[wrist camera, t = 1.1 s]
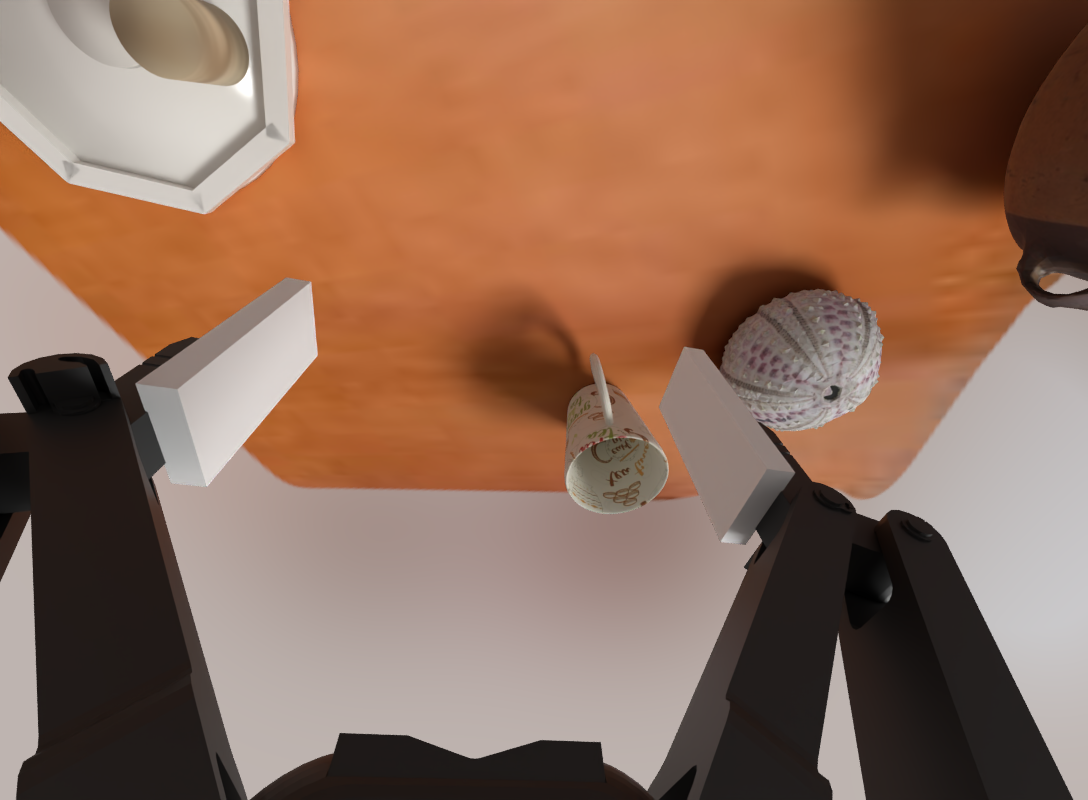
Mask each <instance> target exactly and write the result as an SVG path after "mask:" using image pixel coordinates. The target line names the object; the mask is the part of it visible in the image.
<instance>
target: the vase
mask: <svg viewBox="0 0 1088 800" xmlns="http://www.w3.org/2000/svg"><path fill="white" fill-rule="evenodd" d="M1004 207H1005V214H1006V219H1007V222H1008V226H1009V229H1010V232H1011V234H1012V236H1013V238H1014V240H1015V241H1016V243H1017V244H1018V246H1019V247H1020V248H1021V249H1022V250H1023V255H1022V258H1021V260H1020V261H1019V263H1018V266H1017V268H1016V269H1017V271H1018V273H1019V276H1020V279H1021V283H1022V285H1023V286H1024V287H1025V288H1026V290H1027V291H1028V292H1029V293H1030V294H1031V295H1032V296H1033V297H1034V298H1035V299H1036V300H1037V301H1038V302H1040V303H1042V304H1044V305H1046V306H1049V307H1053V308H1054V307H1066V308H1074V309H1082V310H1086V311H1087V310H1088V288H1087V289H1085V290H1082V291H1079V292H1075V293H1071V294H1053V293H1050V292H1047V291H1044V290H1043V289H1042V288H1041V287H1040V286H1039V282H1040V279H1041V278H1042V277H1044V276H1047V275H1049V274H1051V273H1064V274H1067V275H1070V276H1073V277H1076V278H1079V279H1083V280H1086V281H1088V23H1087V25H1086V26H1085V27H1084V28H1083V29H1082V30H1081V31H1080V32H1079V33H1078V35H1077V36H1076V37H1075V39H1074V40H1073V41H1072V43H1071V44H1070V45H1069V47H1068V48H1067V49H1066V51H1065V52H1064V53H1063V55H1062V56H1061V57H1060V58H1059V60H1058V61H1057V63H1056V64H1055V66H1054V67H1053V69H1052V70H1051V72H1050V73H1049V75H1048V76H1047V78H1046V79H1045V81H1044V82H1043V84H1042V85H1041V87H1040V88H1039V90H1038V92H1037V94H1036V95H1035V97H1034V99H1033V101H1032V102H1031V104H1030V106H1029V108H1028V110H1027V112H1026V114H1025V116H1024V118H1023V120H1022V122H1021V125H1020V127H1019V130H1018V133H1017V136H1016V139H1015V142H1014V144H1013V148H1012V151H1011V154H1010V157H1009V161H1008V165H1007V170H1006V175H1005V184H1004Z"/></svg>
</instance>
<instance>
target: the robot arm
mask: <svg viewBox="0 0 1088 800" xmlns="http://www.w3.org/2000/svg"><path fill="white" fill-rule="evenodd" d="M317 356H318V354H317V343H316V332H315V320H314V309H313V298H312V287H311V282H309V281H303V280H297V279H292V278H285V279H283V280H282V281H281V282H279V283H278V284H276V285H275V286H274V287H272V288H271V289H269V290H268V291H266V292H265V293H264V294H262V295H261V296H259V297H258V298H256V299H255V300H254V301H252V302H251V303H249V304H248V305H246V306H245V307H244V308H242V309H241V310H239V311H238V312H237V313H235V314H234V315H232V316H231V317H229V318H228V319H227V320H225V321H224V322H222V323H221V324H219V325H218V326H217V327H215V328H214V329H212V330H211V331H209V332H208V333H207V334H205V335H204V336H202V337H201V338H194V337H190V338H187V339H184V340H181V341H179V342H176V343H173V344H170V345H168V346H167V347H165V348H164V349H162V350H161V351H159V352H158V353H156V354H155V357H153V356H152V357H150V358H149V359H147V360H146V361H144V362H143V364H142V365H138V366H136V367H135V368H134V369H132V370H130V371H129V372H127V373H126V374H124V375H123V376H121V377H120V378H118V379H117V380H116V381H114V379H113V376H112V373H111V371H110V368H109V366H108V364H107V362H106V361H105V360H104V359H103V358H101V357H98V356H95V355H91V354H79V353H73V354H57V355H52V356H47V357H42V358H38V359H35V360H32V361H29V362H26V363H23V364H22V365H20V366H18V367H17V368H15V369H13V370H12V371H11V373H10V375H9V376H8V379H9V381H10V383H11V385H12V386H13V388H14V390H15V392H16V394H17V396H18V397H19V399H20V401H21V403H22V405H23V407H24V408H25V410H26V412H25V413H5V414H4V413H3V414H0V581H1V579H2V577H3V575H4V572H5V570H6V568H7V566H8V563H9V561H10V559H11V557H12V555H13V552H14V550H15V548H16V546H17V543H18V541H19V539H20V537H21V534H22V532H23V530H24V528H25V526H26V523H27V521H28V519H29V517H30V515H31V525H32V526H31V527H32V528H31V529H32V558H33V586H34V613H35V614H34V616H35V645H36V674H37V703H38V733H39V739H38V748H37V751H36V754H35V755H34V756H32V757H30V758H29V759H27V760H26V761H24V762H23V764H22V767H21V769H20V772H19V775H18V782H17V794H16V800H247V796H246V793H245V790H244V787H243V784H242V781H241V778H240V775H239V772H238V769H237V767H236V764H235V761H234V758H233V755H232V752H231V749H230V745H229V742H228V738H227V735H226V732H225V728H224V724H223V721H222V718H221V714H220V710H219V707H218V704H217V700H216V697H215V693H214V689H213V686H212V682H211V679H210V676H209V672H208V668H207V665H206V662H205V658H204V654H203V651H202V648H201V644H200V640H199V637H198V633H197V630H196V626H195V623H194V620H193V616H192V613H191V609H190V606H189V602H188V598H187V595H186V591H185V588H184V585H183V581H182V577H181V574H180V571H179V567H178V563H177V560H176V556H175V553H174V549H173V546H172V542H171V539H170V535H169V532H168V528H167V525H166V521H165V518H164V514H163V511H162V507H161V504H160V500H159V497H158V493H157V490H156V487H155V484H154V481H153V479H152V476H153V475H154V474H155V473H156V472H157V471H158V470H159V469H160V468H161V467H162V466H163V465H165V468H166V470H167V473H168V476H169V479H170V482H171V483H175V484H185V485H194V486H203V487H207V486H208V485H209V484H210V483H211V481H212V480H213V479H214V478H215V477H216V475H217V474H218V473H219V472H220V471H221V469H222V468H223V467H224V466H225V465H226V463H227V462H228V461H229V460H230V459H231V458H232V456H233V455H234V454H235V453H236V452H237V450H238V449H239V448H240V447H241V446H242V445H243V443H244V442H245V441H246V440H247V439H248V437H249V436H250V435H251V434H252V433H253V431H254V430H255V429H256V428H257V427H258V426H259V424H260V423H261V422H262V421H263V420H264V418H265V417H266V416H267V415H268V414H269V413H270V411H271V410H272V409H273V408H274V407H275V405H276V404H277V403H278V402H279V401H280V399H281V398H282V397H283V396H284V395H285V394H286V392H287V391H288V390H289V389H290V388H291V386H292V385H293V384H294V383H295V382H296V380H297V379H298V378H299V377H300V376H301V375H302V373H303V372H304V371H305V370H306V369H307V367H308V366H309V365H310V364H311V363H312V361H313V360H314V359H315V358H316V357H317ZM659 408H660V411H661V413H662V415H663V417H664V419H665V421H666V424H667V426H668V428H669V430H670V432H671V435H672V437H673V439H674V441H675V443H676V446H677V448H678V450H679V452H680V454H681V457H682V459H683V461H684V463H685V465H686V468H687V470H688V472H689V474H690V476H691V479H692V481H693V483H694V485H695V487H696V489H697V492H698V494H699V496H700V498H701V500H702V503H703V505H704V507H705V509H706V511H707V514H708V516H709V518H710V520H711V522H712V525H713V527H714V529H715V531H716V533H717V535H718V538H719V540H720V542H726V543H736V544H746V543H747V542H748V540H749V539H750V538H751V536H752V535H753V533H754V532H755V530H757V532H758V534H759V536H760V538H761V539H762V543H761V544H760V545H759V547H758V548H757V550H756V551H755V552H754V554H753V555H752V556H751V558H750V559H749V561H748V562H747V563H746V565H745V566H744V568H745V569H747V572H746V575H745V577H744V579H743V581H742V584H741V586H740V589H739V591H738V593H737V595H736V598H735V600H734V602H733V605H732V607H731V609H730V611H729V614H728V616H727V619H726V621H725V623H724V626H723V628H722V630H721V632H720V635H719V637H718V639H717V642H716V644H715V646H714V648H713V651H712V653H711V655H710V658H709V660H708V662H707V665H706V667H705V669H704V672H703V674H702V676H701V679H700V681H699V683H698V686H697V688H696V690H695V692H694V695H693V697H692V699H691V702H690V704H689V706H688V708H687V711H686V713H685V716H684V718H683V720H682V722H681V725H680V727H679V729H678V732H677V734H676V736H675V739H674V741H673V743H672V746H671V748H670V750H669V752H668V755H667V757H666V759H665V761H664V763H663V765H662V767H661V769H660V771H659V772H658V774H657V776H656V777H655V779H654V780H653V782H652V784H651V785H650V787H649V789H648V791H646V790H645V789H644V788H643V787H642V786H641V785H640V784H639V783H637V782H636V781H635V780H633V779H632V778H630V777H629V776H627V775H626V774H625V773H623V772H622V771H620V770H618V769H616V768H614V767H612V766H610V765H608V764H605V763H603V757H602V749H601V742H578V741H577V742H576V741H549V740H540V741H536V742H533V743H530V744H526V745H523V746H520V747H516V748H513V749H509V750H506V751H503V752H499V753H496V754H493V755H489V756H486V757H482V758H478V759H471V758H468V757H465V756H462V755H459V754H456V753H454V752H451V751H448V750H446V749H443V748H440V747H438V746H435V745H432V744H429V743H427V742H424V741H421V740H419V739H416V738H413V737H410V736H407V735H378V734H348V733H340V734H339V738H338V741H337V744H336V748H335V751H334V753H333V754H329V755H326V756H322V757H320V758H317V759H315V760H312V761H310V762H308V763H305V764H303V765H301V766H299V767H297V768H296V769H294V770H292V771H290V772H288V773H287V774H284V775H283V776H281V777H280V778H278V779H277V780H276V781H274V782H272V783H271V784H270V785H268V786H267V787H265V788H264V789H263V790H261V791H260V792H259V793H258V794H256V795H255V796H254V797H253V798H252V799H250V800H832V789H831V786H830V783H829V780H827V779H826V778H825V777H823V776H822V775H821V774H820V773H819V772H818V769H817V766H818V765H817V764H818V755H819V749H820V743H821V736H822V730H823V724H824V718H825V712H826V705H827V699H828V692H829V686H830V680H831V674H832V667H833V661H834V655H835V648H836V642H837V636H838V633H839V639H840V645H841V651H842V657H843V663H844V669H845V675H846V681H847V687H848V693H849V699H850V705H851V711H852V717H853V723H854V730H855V736H856V742H857V748H858V753H859V760H860V766H861V772H862V778H863V783H864V790H865V796H866V800H1073V798H1072V796H1071V794H1070V792H1069V790H1068V788H1067V786H1066V784H1065V782H1064V780H1063V778H1062V776H1061V774H1060V772H1059V770H1058V768H1057V766H1056V764H1055V762H1054V760H1053V758H1052V756H1051V754H1050V752H1049V750H1048V748H1047V746H1046V743H1045V742H1044V739H1043V738H1042V735H1041V733H1040V731H1039V729H1038V727H1037V725H1036V723H1035V721H1034V719H1033V717H1032V715H1031V713H1030V711H1029V709H1028V707H1027V705H1026V703H1025V701H1024V699H1023V697H1022V695H1021V693H1020V691H1019V689H1018V687H1017V685H1016V683H1015V681H1014V679H1013V677H1012V675H1011V673H1010V671H1009V669H1008V667H1007V665H1006V663H1005V660H1004V659H1003V657H1002V654H1001V652H1000V650H999V648H998V646H997V645H996V642H995V640H994V638H993V636H992V634H991V632H990V630H989V628H988V626H987V624H986V622H985V620H984V618H983V616H982V614H981V612H980V610H979V608H978V606H977V604H976V602H975V600H974V598H973V596H972V594H971V592H970V590H969V588H968V586H967V584H966V582H965V580H964V577H963V576H962V573H961V571H960V569H959V567H958V565H957V564H956V561H955V559H954V557H953V555H952V553H951V551H950V549H949V547H948V545H947V543H946V542H945V540H944V539H943V537H942V536H941V535H940V534H939V533H938V532H937V531H936V530H935V529H934V528H933V527H932V526H931V525H930V524H929V523H927V522H925V521H924V520H923V519H921V518H919V517H916V516H914V515H912V514H910V513H907V512H903V511H900V510H891V511H889V512H888V513H887V514H886V515H885V516H884V517H883V518H882V519H881V520H880V521H877V520H874V519H871V518H868V517H865V516H863V515H860V514H857V513H856V510H855V508H854V506H853V505H852V503H851V502H850V501H849V500H848V499H847V498H846V497H844V496H843V495H842V494H841V493H839V492H838V491H836V490H834V489H833V488H831V487H828V486H826V485H824V484H821V483H816V482H812V481H811V479H810V478H809V477H808V476H807V474H806V473H805V472H804V470H803V469H802V468H801V467H800V465H799V464H798V463H797V461H796V460H795V459H794V458H793V456H792V455H790V452H789V451H788V450H787V449H786V447H785V446H783V443H782V442H781V441H780V440H779V438H778V437H777V436H776V434H775V433H774V432H773V431H771V430H770V429H769V428H768V427H766V426H765V425H764V424H763V423H761V422H757V421H756V420H755V418H754V417H753V416H752V414H751V413H750V412H749V410H748V409H747V408H746V406H745V405H744V404H743V402H742V401H741V400H740V398H739V397H738V396H737V394H736V393H735V392H734V390H733V389H732V388H731V386H730V385H729V384H728V382H727V381H726V380H725V378H724V377H723V376H722V374H721V373H720V372H719V370H718V369H717V368H716V366H715V365H714V364H713V362H712V361H711V360H710V358H709V357H708V356H707V354H706V353H705V352H704V350H701V349H695V348H689V347H684V348H683V350H682V353H681V355H680V358H679V360H678V362H677V365H676V367H675V370H674V372H673V374H672V377H671V379H670V382H669V384H668V386H667V389H666V391H665V394H664V396H663V398H662V401H661V403H660V405H659Z"/></svg>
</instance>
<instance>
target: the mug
mask: <svg viewBox="0 0 1088 800" xmlns="http://www.w3.org/2000/svg"><path fill="white" fill-rule="evenodd" d="M590 363H591V370H592V374H593V377H594V381H595V384H592V385H589V386H586V387H584V388H582V389H581V390H579V391H578V392H577V393H576V394H575V395H574V396H573V397H572V399H571V401H570V403H569V406H568V413H567V432H566V452H565V485H566V488H567V491H568V493H569V495H570V496H571V498H572V499H573V500H574V501H575V502H576V503H577V504H579V505H580V506H582V507H583V508H585V509H587V510H590V511H594V512H597V513H603V514H616V513H624V512H628V511H631V510H634V509H637V508H639V507H641V506H643V505H645V504H646V503H648V502H649V501H651V500H652V499H653V498H654V497H656V496H657V495H658V493H659V492H660V491H661V490H662V488H663V487H664V485H665V483H666V480H667V477H668V471H669V470H668V462H667V458H666V456H665V454H664V452H663V450H662V448H661V447H660V445H659V444H658V442H657V441H656V439H655V438H654V437H653V435H652V434H651V432H650V431H649V429H648V428H647V426H646V425H645V423H644V422H643V420H642V419H641V418H640V416H639V415H638V413H637V412H636V410H635V409H634V407H633V406H632V404H631V403H630V401H629V400H628V399H627V397H626V396H625V394H624V393H623V392H622V391H621V390H620V389H618V388H617V387H615V386H612V385H609V384H606V381H605V378H604V374H603V370H602V367H601V363H600V360H599V358H598V356H597V355H596V354H594V353H593V354H591V355H590Z"/></svg>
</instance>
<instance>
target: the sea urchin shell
mask: <svg viewBox="0 0 1088 800" xmlns="http://www.w3.org/2000/svg"><path fill="white" fill-rule="evenodd" d="M875 316H876V311H871V307H868V302H860V299H859V298H858V299H852V297H850V296H844V295H843V293H839V294H838V292H837V290H835V291H830V290H827V291H825V290H823V289H821V290H820V289H816V290H810V291H808V290H803V291H800V292H797V293H791V292H790V293H789V294H788V296H786V297H784V298H782V299H780V298H773V300H772V301H771V303H769V304H767V305H762V306H760V308H759V309H758V311H757V313H756V314H755V315H753V316H751V317H747V318H746V320H745V322H744V323H742V324H741V325H739V328H738V330H737V331H736V332H734V333H733V336H732V338H731V339H729V343H728V344H727V345H726V346H725V352H724V353H723V354H724V356H723V357H722V361H723V362H722V365H721V366H720V370H719V372H720V373H721V374H722V376H723V377H724V378H725V380H726V381H727V382H728V384H729V385H730V386H731V388H732V389H733V390H734V392H735V393H736V394H737V396H738V397H739V398H740V400H741V401H742V402H743V404H744V405H745V406H746V408H747V409H748V410H749V412H750V413H751V414H752V416H753V417H754V418H755V420H756V421H757V422H761V423H763V424H764V425H765V426H768V427H770V428H774V429H775V430H776V431H778V430H780V431H797V430H798V431H799V430H805V429H809V428H810V429H811V428H815V429H817V428H818V427H819V426H820V427H823V425H824V424H825V423H827V422H829V421H831V420H833V419H834V418H837V417H840V416H842V415H844V414H845V413H847V412H853V411H855V408H856V407H857V406H858V405H860V404H861V403H862V402H863V401H865V399H866V398H867V396H868V395H869V394H870V392H871V390H872V387H873V386H875V384H876V383H877V382H879V381H878V380H877V378H878V377H880V376H879V374H878V370H879V366H880V363H881V361H880V360H881V351H882V346H883V344H882V340H883V338H884V337H883V335H882V334H880V327H878V326H877V318H875Z"/></svg>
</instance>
